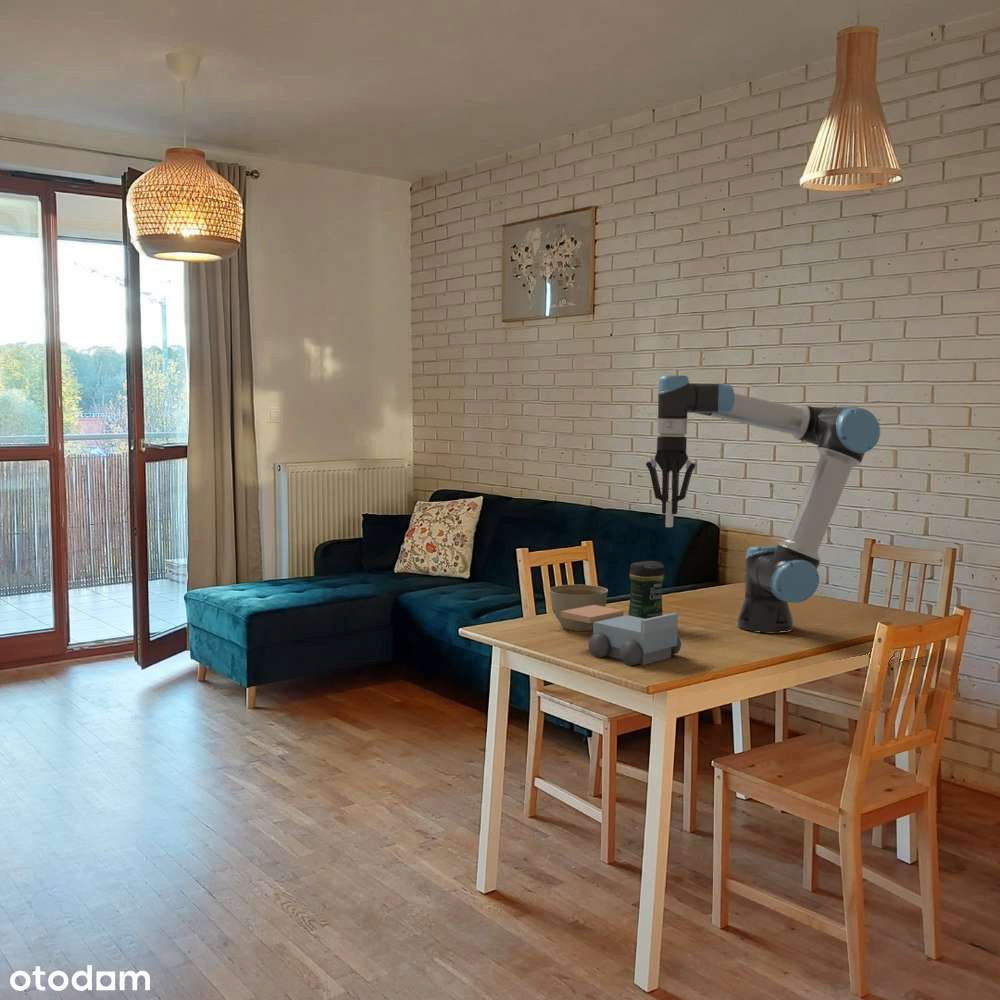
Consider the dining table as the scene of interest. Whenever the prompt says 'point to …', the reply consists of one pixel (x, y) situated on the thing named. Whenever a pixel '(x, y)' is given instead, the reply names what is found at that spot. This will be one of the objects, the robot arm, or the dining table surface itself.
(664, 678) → the dining table surface
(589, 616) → the tailgate
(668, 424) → the robot arm
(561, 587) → the planter bowl
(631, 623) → the flatbed
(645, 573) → the coffee jar
